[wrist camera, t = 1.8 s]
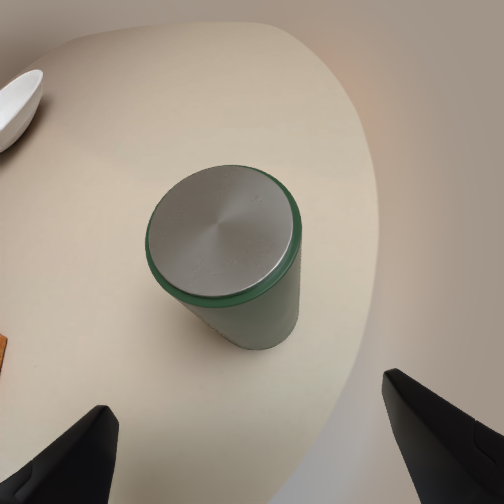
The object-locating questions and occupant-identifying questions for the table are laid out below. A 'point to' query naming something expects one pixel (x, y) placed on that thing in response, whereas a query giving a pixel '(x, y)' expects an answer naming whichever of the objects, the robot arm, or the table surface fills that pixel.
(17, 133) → the bowl
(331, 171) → the table surface
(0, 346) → the truffle serving board
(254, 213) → the can
